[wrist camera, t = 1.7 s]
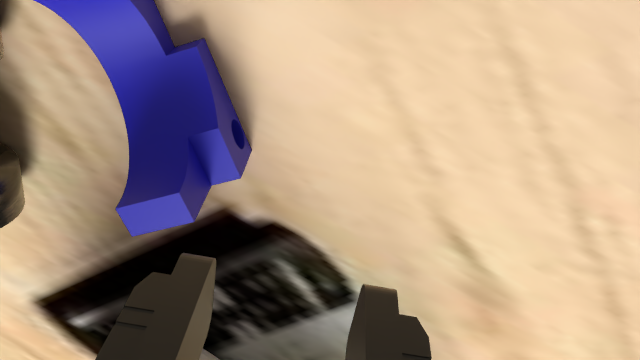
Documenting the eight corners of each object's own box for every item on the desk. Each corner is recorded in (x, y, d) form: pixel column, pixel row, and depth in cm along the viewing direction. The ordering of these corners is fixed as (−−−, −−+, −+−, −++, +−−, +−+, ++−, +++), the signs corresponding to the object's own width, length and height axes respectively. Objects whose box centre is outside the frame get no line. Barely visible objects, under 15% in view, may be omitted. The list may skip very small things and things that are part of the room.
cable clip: (252, 148, 27) (226, 214, 22) (173, 169, 28) (132, 236, 23) (145, -104, 22) (79, -94, 17) (53, -68, 23) (-38, -48, 18)
